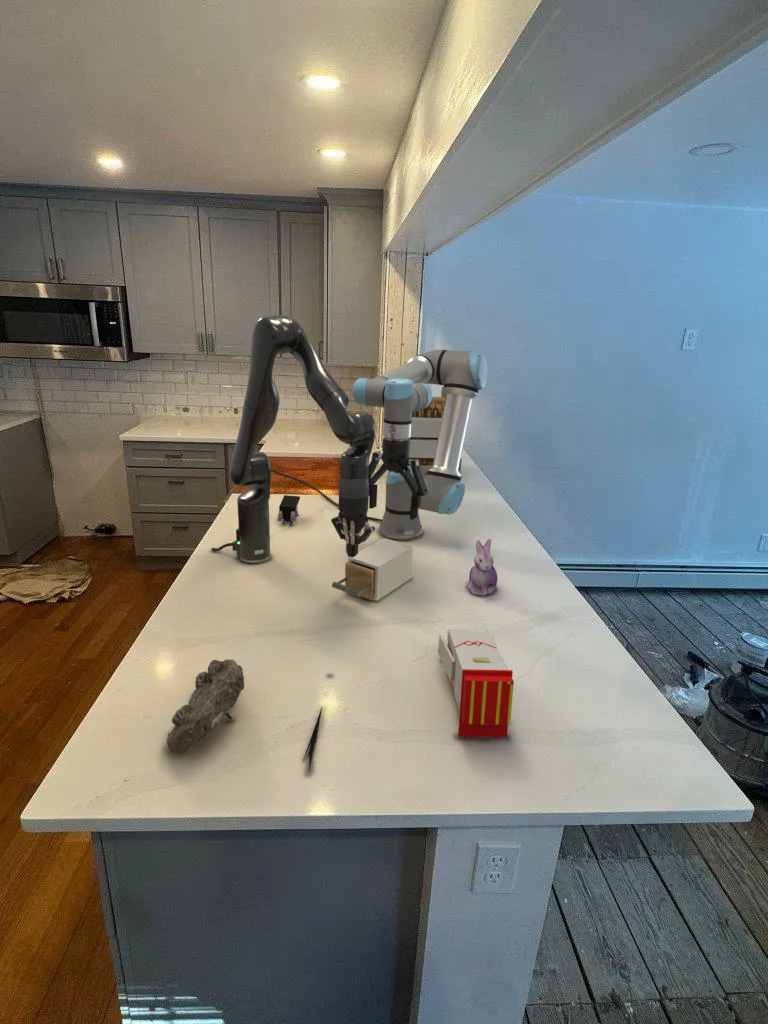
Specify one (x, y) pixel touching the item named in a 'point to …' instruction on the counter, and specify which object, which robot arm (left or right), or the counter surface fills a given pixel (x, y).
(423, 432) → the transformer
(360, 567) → the drawer
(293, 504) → the figurine character
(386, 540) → the cabinet
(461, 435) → the right robot arm
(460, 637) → the toy
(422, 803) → the counter surface
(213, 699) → the fossil
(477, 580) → the figurine
